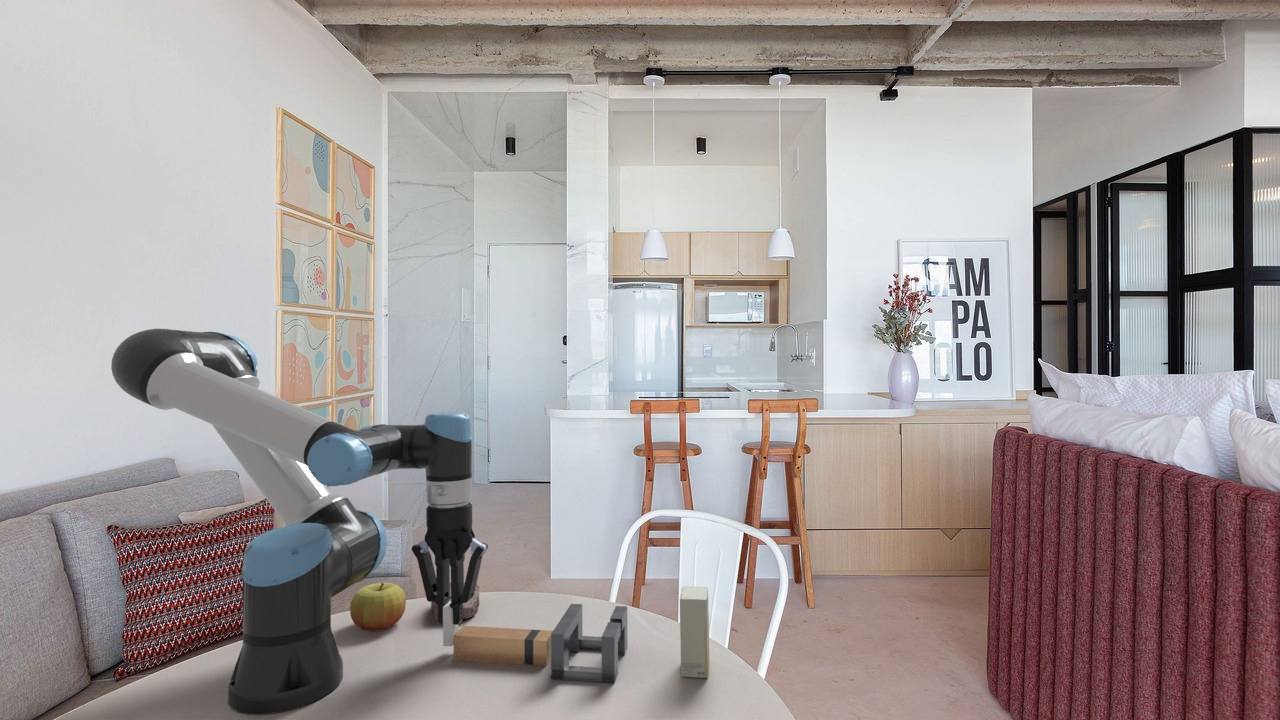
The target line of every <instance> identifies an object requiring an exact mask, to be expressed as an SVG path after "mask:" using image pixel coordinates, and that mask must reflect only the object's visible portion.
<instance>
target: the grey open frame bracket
mask: <svg viewBox="0 0 1280 720" xmlns="http://www.w3.org/2000/svg"><path fill="white" fill-rule="evenodd" d="M552 631H553V632H552V633H551V659H550V661H551V662H550V663H551V665H550V666H551V667H550V668H551V669H550V670H551V671H550V674H551V675H550V676H551V677H550V678H551V680H561V681H574V682H575V681H576V682H591V683H601V684H602V683H605V684H606V683H607V684H616V680H617V678H618V675H619V655H618V654H622V655H621V656H625V655H626V652H627V650H628V606H624V605H615V608H614V609H613V611H612V614H611V615H610V618H609V621H608V622H607V625H606V627H605V629H604V631H603V633H602V635H601V636H590V635H589V636H588V635H583V603H570V605H569V606H568V608H567V609H566V610H565V612H564V613H563V615H562V617H561V618H560V620H559V621H558V623H557V624H556V626H555V628H554V629H553V630H552ZM583 648H592V649H591V650H600V649H602V650H601V667H594V666H579V665H578V666H577V665H570V662H569V661H570V659H569V657H570V656H569V655H570V653H579V652H580V650H581V649H583ZM594 648H595V649H594ZM626 649H627V650H626Z"/></svg>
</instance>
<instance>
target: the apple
mask: <svg viewBox="0 0 1280 720" xmlns="http://www.w3.org/2000/svg"><path fill="white" fill-rule="evenodd" d="M406 600H407V599H406V593H405V591H404V590H403V589H402V588H401V587H400V586H399V585H398V584H395V583H391V582H377V583H371V584H368V585H365V586H364V587H362V588H360V589H358V590H357V592H356V593H355V594H354V595H353V597H352V599H351V601H350V606H349V612H350V618H351V620H352V622H353V624H354V625H356V627H358V628H359V629H361V630H362V631H363V630H364V631H367V632H377V631H378V632H379V631H383V630H387V629H389V628H391V627H393V626H395V625H396V624H397V623H398V622H399V621H400V620H401V619H402V617H403V616H404V613H405V612H406V603H407V601H406Z"/></svg>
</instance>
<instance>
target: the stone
mask: <svg viewBox="0 0 1280 720" xmlns="http://www.w3.org/2000/svg"><path fill="white" fill-rule="evenodd" d="M464 585H465V582H464ZM450 596H451V582H450ZM449 601H451V598H450V599H449V600H448V602H449ZM430 605H431V606H430V610H429V617H430V620H431V622H432V624H433V625H440V624H439V622H438V605H437V604H436V603H435V602H432V601H431V602H430ZM479 606H480V584H479V583H478V582H477V583H476V588H475V592H474V596H473V597H472V598H471V599H470V600H469V601H468V602H467V603H463V619H465V620H467V619H469V618H471V617H472V618H473V617H475V615H476V614H477V613H478V610H479Z"/></svg>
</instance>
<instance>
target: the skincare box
mask: <svg viewBox="0 0 1280 720" xmlns="http://www.w3.org/2000/svg"><path fill="white" fill-rule="evenodd" d="M680 591H681V592H680V596H679V626H680V627H679V629H680V634H679V635H680V638H679V639H680V677H684V678H685V677H686V678H699V679H700V678H701V679H708V678H709V673H710V672H709V670H710V661H711V659H710V623H709V621H710V619H709V617H710V616H709V613H710V612H709V587H706V586H705V587H703V586H701V587H700V586H699V587H698V586H682V588H681V590H680Z"/></svg>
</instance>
